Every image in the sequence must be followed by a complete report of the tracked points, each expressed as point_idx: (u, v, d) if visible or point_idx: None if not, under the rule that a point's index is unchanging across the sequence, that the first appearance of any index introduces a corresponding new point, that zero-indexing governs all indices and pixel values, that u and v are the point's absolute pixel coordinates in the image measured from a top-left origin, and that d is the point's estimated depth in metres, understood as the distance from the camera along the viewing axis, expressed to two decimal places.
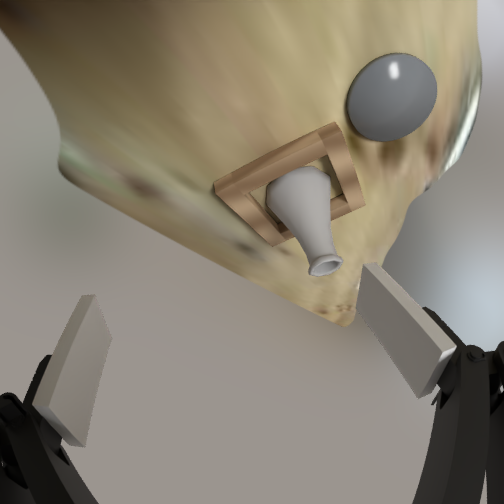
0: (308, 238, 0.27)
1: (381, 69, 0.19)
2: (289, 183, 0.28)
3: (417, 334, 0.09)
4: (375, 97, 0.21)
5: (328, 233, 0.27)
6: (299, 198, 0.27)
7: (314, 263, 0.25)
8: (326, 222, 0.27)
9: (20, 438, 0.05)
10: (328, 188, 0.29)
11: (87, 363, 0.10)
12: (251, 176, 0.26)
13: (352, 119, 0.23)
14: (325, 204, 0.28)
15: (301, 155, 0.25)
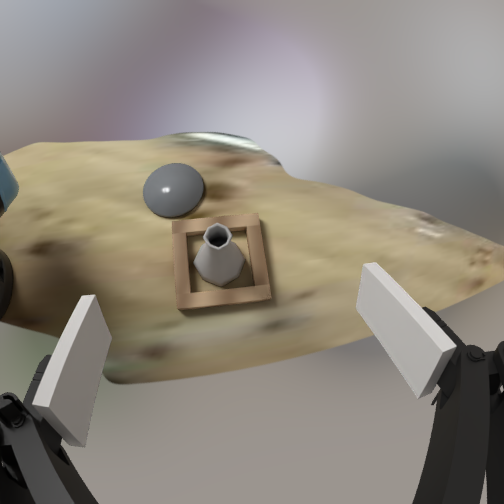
0: (208, 249, 0.36)
1: (148, 195, 0.45)
2: (197, 261, 0.41)
3: (417, 334, 0.09)
4: (164, 200, 0.45)
5: (213, 235, 0.37)
6: (199, 255, 0.39)
7: (206, 243, 0.33)
8: (213, 237, 0.38)
9: (20, 438, 0.05)
10: (216, 237, 0.42)
11: (87, 363, 0.10)
12: (176, 281, 0.40)
13: (173, 214, 0.44)
14: (212, 238, 0.40)
15: (177, 247, 0.41)
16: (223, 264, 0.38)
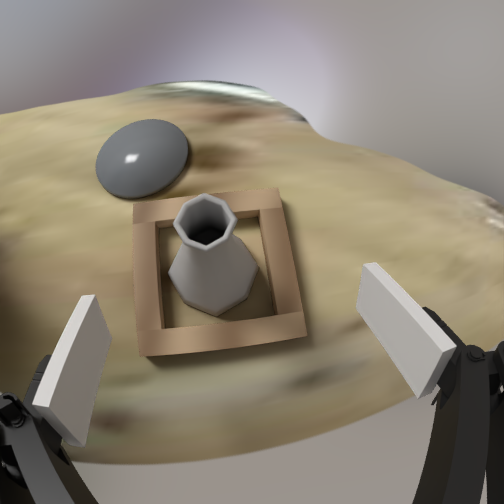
0: (187, 250, 0.17)
1: (102, 167, 0.26)
2: (172, 271, 0.22)
3: (417, 334, 0.09)
4: (125, 172, 0.26)
5: (199, 222, 0.18)
6: (176, 260, 0.21)
7: (180, 237, 0.15)
8: (199, 226, 0.19)
9: (20, 438, 0.05)
10: (206, 228, 0.24)
11: (87, 363, 0.10)
12: (137, 307, 0.21)
13: (137, 194, 0.25)
14: (199, 230, 0.21)
15: (140, 248, 0.23)
16: (219, 279, 0.19)
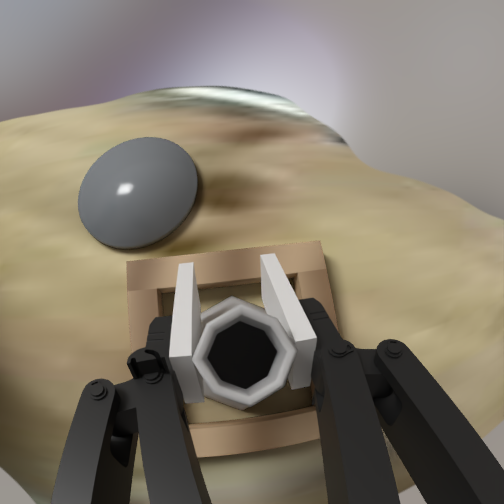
0: None
1: (86, 203, 0.20)
2: None
3: (284, 322, 0.11)
4: (115, 212, 0.20)
5: None
6: None
7: (205, 379, 0.09)
8: None
9: (150, 395, 0.07)
10: (228, 302, 0.17)
11: (197, 322, 0.12)
12: None
13: (131, 244, 0.19)
14: (221, 315, 0.15)
15: (139, 325, 0.17)
16: None
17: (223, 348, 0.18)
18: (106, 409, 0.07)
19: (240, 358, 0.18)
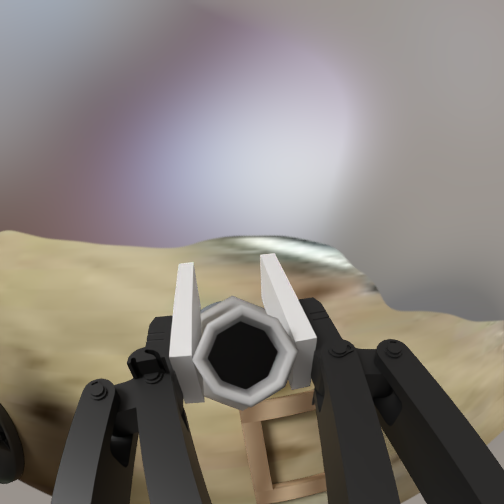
0: None
1: None
2: None
3: (284, 322, 0.11)
4: None
5: None
6: None
7: (205, 380, 0.09)
8: None
9: (150, 396, 0.07)
10: (228, 302, 0.17)
11: (197, 322, 0.12)
12: (254, 479, 0.24)
13: None
14: (221, 315, 0.15)
15: (251, 441, 0.25)
16: None
17: (223, 349, 0.18)
18: (106, 409, 0.07)
19: (240, 358, 0.18)
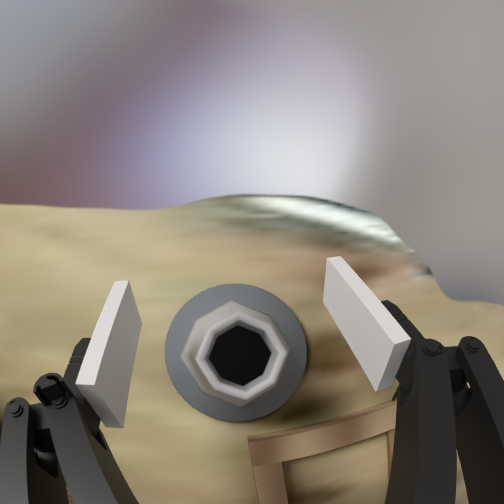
0: None
1: (179, 371, 0.19)
2: (187, 360, 0.17)
3: (372, 326, 0.10)
4: None
5: None
6: (192, 356, 0.16)
7: (206, 377, 0.10)
8: None
9: (60, 420, 0.06)
10: (227, 306, 0.19)
11: (124, 345, 0.11)
12: None
13: (245, 419, 0.18)
14: (221, 318, 0.16)
15: (267, 489, 0.15)
16: None
17: (222, 349, 0.19)
18: (24, 424, 0.06)
19: (238, 358, 0.19)
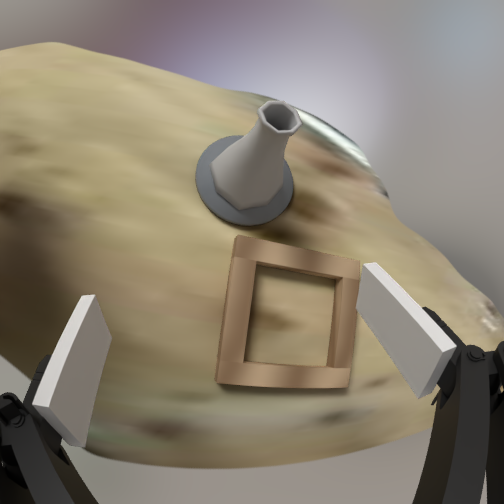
0: (251, 138, 0.21)
1: (204, 174, 0.27)
2: (217, 161, 0.26)
3: (417, 334, 0.09)
4: None
5: None
6: (227, 151, 0.25)
7: (260, 119, 0.19)
8: None
9: (20, 438, 0.05)
10: None
11: (87, 363, 0.10)
12: (225, 339, 0.24)
13: (239, 221, 0.27)
14: None
15: (238, 283, 0.25)
16: (262, 171, 0.23)
17: None
18: None
19: None
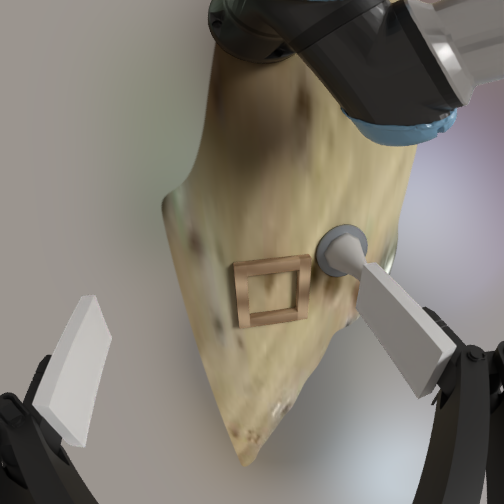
0: (360, 264, 0.43)
1: (340, 231, 0.48)
2: (348, 239, 0.47)
3: (417, 334, 0.09)
4: None
5: None
6: (354, 246, 0.46)
7: None
8: None
9: (20, 438, 0.05)
10: None
11: (87, 363, 0.10)
12: (257, 265, 0.48)
13: (318, 255, 0.50)
14: None
15: (287, 264, 0.48)
16: (345, 268, 0.46)
17: None
18: None
19: None
